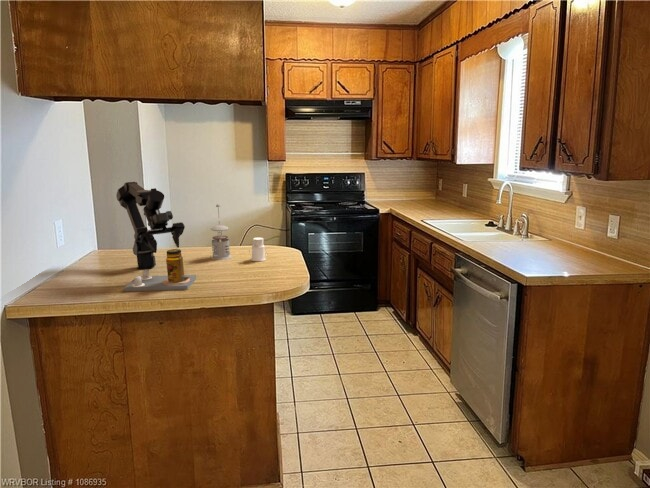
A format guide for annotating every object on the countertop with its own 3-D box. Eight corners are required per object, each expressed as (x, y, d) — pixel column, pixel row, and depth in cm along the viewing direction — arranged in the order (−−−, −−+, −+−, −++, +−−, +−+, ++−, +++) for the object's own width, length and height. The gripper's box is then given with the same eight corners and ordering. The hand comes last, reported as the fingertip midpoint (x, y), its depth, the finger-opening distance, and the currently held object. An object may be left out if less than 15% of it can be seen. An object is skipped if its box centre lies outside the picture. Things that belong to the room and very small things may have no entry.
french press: (210, 260, 217) (206, 206, 211) (210, 254, 228) (206, 202, 222) (232, 259, 219) (229, 205, 213) (231, 253, 230) (228, 201, 224)
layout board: (124, 291, 175) (123, 279, 174) (137, 279, 189) (136, 268, 188) (187, 289, 176) (186, 277, 175) (195, 278, 190) (195, 267, 189)
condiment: (164, 283, 178) (161, 252, 176) (172, 276, 187) (169, 247, 184) (183, 283, 178) (180, 252, 175) (190, 276, 186) (188, 247, 184)
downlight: (250, 262, 213) (250, 240, 211) (248, 258, 220) (248, 237, 217) (268, 261, 215) (268, 239, 213) (265, 257, 222) (265, 236, 220)
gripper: (133, 207, 179) (146, 240, 173) (181, 202, 190) (194, 233, 185) (128, 224, 187) (141, 257, 181) (175, 219, 198) (187, 249, 192)
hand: (166, 249), depth 185 cm, fingers open, 9 cm apart
